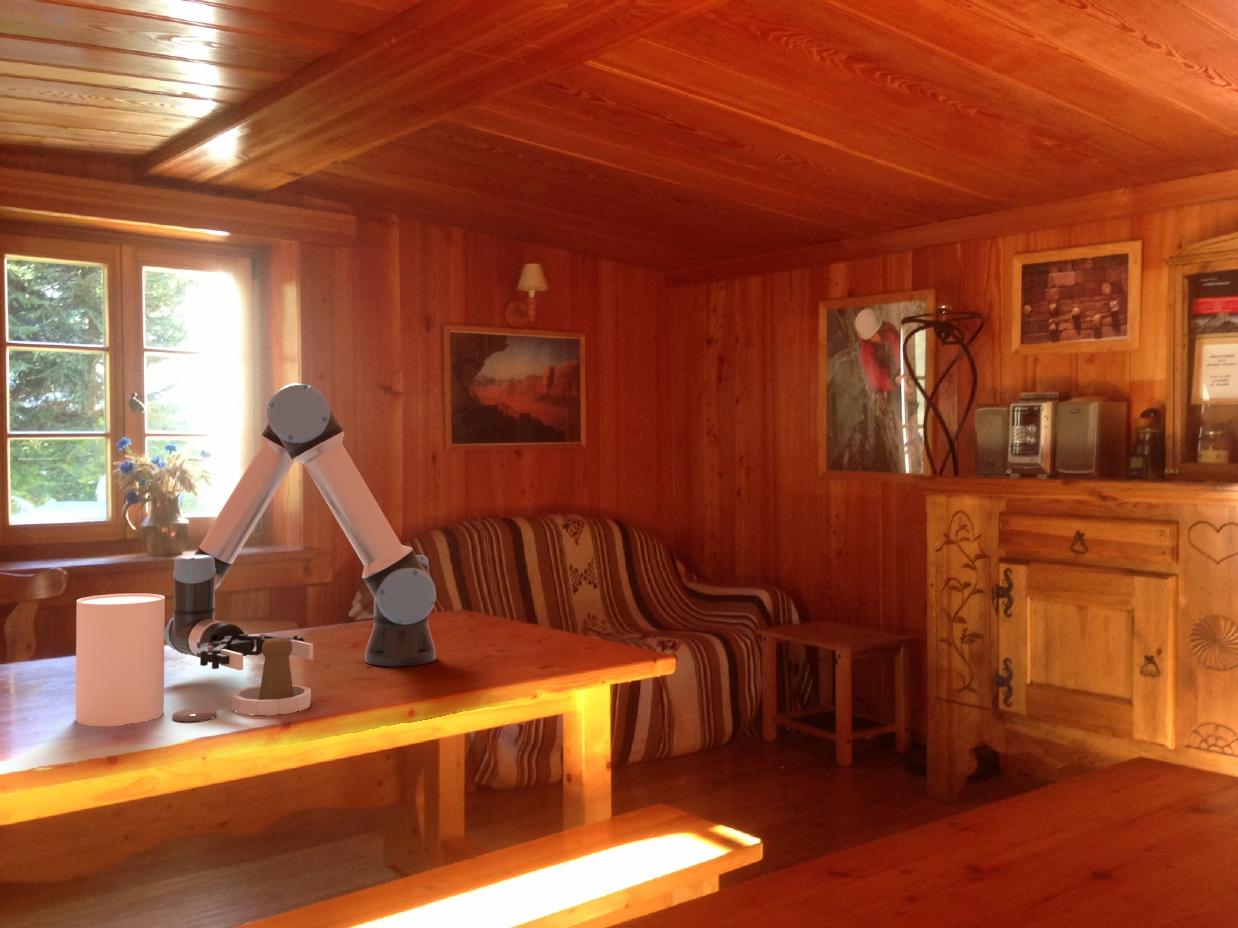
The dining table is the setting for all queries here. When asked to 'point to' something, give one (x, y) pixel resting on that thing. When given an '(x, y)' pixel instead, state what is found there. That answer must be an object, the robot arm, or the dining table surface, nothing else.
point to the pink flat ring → (270, 701)
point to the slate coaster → (194, 715)
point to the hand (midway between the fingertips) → (277, 656)
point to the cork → (276, 669)
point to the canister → (119, 659)
